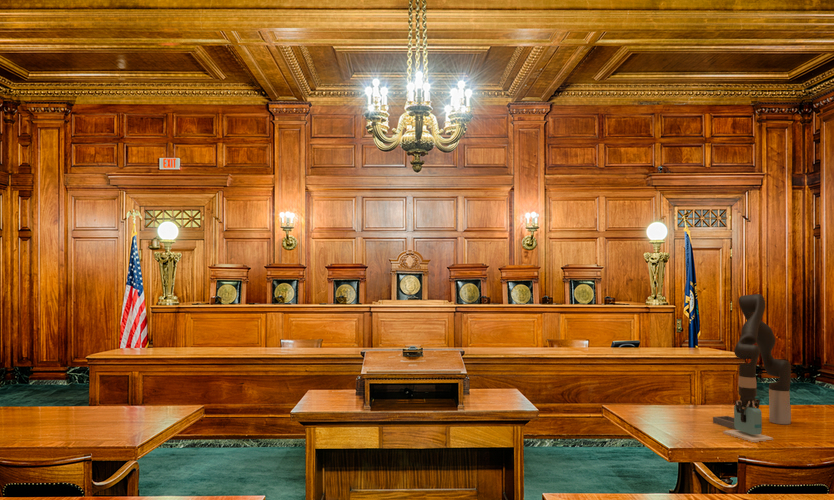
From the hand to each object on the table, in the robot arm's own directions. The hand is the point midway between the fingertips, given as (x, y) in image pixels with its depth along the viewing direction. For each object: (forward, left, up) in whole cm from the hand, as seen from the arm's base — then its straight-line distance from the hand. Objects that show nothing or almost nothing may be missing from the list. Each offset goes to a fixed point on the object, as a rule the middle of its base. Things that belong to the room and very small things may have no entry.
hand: (747, 421), depth 273 cm
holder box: (-11, -17, -7) cm, 21 cm away
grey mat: (0, 0, -7) cm, 7 cm away
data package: (0, 0, -5) cm, 5 cm away
